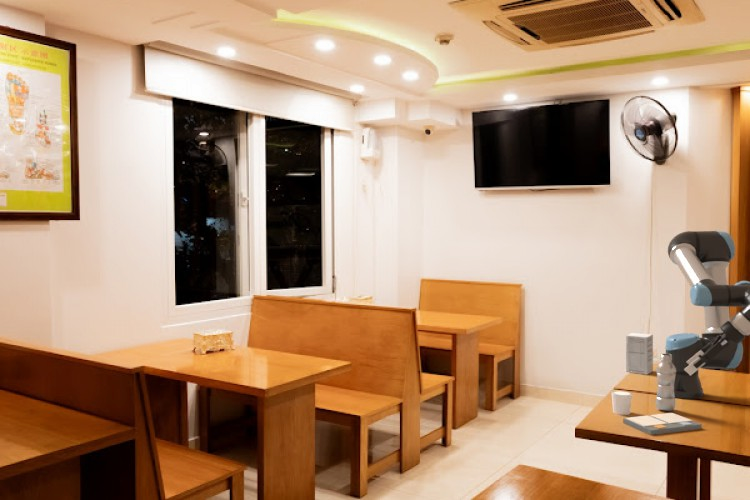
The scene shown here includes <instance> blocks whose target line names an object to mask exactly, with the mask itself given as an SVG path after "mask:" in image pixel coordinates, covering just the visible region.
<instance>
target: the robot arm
mask: <svg viewBox="0 0 750 500" xmlns="http://www.w3.org/2000/svg"><path fill="white" fill-rule="evenodd" d="M735 253H736V245H735V242H734V239H733V237H732V236H731V235H730V233H728V232H726V231H718V230H709V231H708V230H707V231H706V230H705V231H702V230H699V231H697V230H696V231H695V230H694V231H692V230H691V231H690V230H689V231H683V232H680V233H678V234H676V236H674V237H673V238H672V239H671V240H670V242H669V244H668V246H667V254H668V257H669V259H670V261H671V262H672V263H673V264H674V265H677V267H678V269H679V270H680V271H681V273H682V275H683V276H684V278H685V279H686V281H687V283H688V285H690V287H691V288H690V292H689V298H690V302H691V304H692V305H693V306H697V307H703V309H704V311H703V313H704V323H705V324H704V325H705V329H704V330H703V331H702V332H701V337H700V336H699V334H698V333H693V332H692V333H687V332H685V333H684V332H683V333H675V334H671V335H669V336H668V337H666V341H665V347H664V349H665V354H671V355H672V361H671V362H672V363H673V364H674V366H675V367H676V376H675V383H674V396H675V397H674V398H678V399H686V400H687V399H693V400H694V399H701V398H703V397H704V389H703V387H702V383H701V380H700V377H699V369H721V370H722V369H723V370H726V369H736V368H738V366H739V365H740V364H741V362H742V360H743V354H744V346H743V342H742V341H744V340H745V339H746V336H750V281H748V280H741V281H738V282H736V283H735V284H728V281H727V270H726V269H727V267H729V265H730V261H732V260H733V259H734V258H735V255H736V254H735ZM729 307H730V308H733V307H734V308H735V307H736V308H741V307H742V308H741V309H740V310H739V311H738V312H736V313H735V314H733V316H732V317H730V308H729Z"/></svg>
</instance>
